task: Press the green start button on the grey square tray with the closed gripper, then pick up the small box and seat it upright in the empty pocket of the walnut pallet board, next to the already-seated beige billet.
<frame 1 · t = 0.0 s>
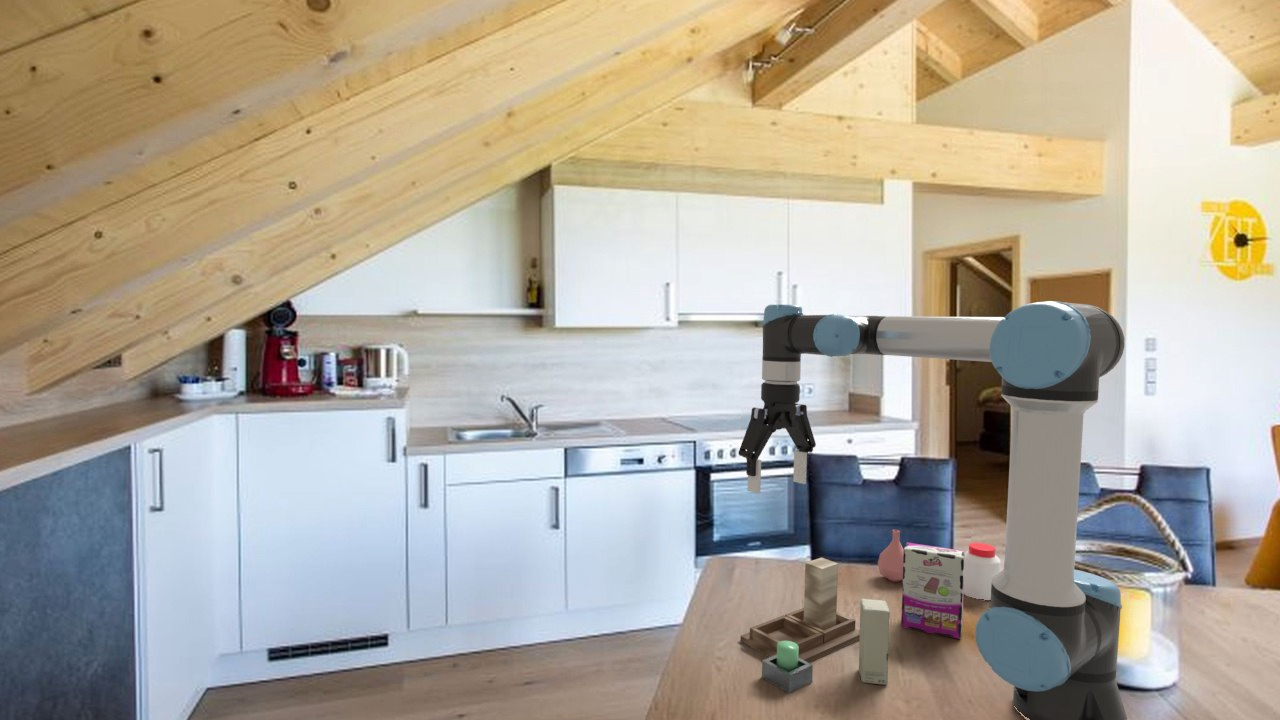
hand: (777, 487, 135), 28 cm above the table, fingers open, 13 cm apart
candy bar box: (931, 629, 136), on the table
box: (872, 677, 117), on the table
grey square tray: (786, 679, 115), on the table
pill bottle: (979, 594, 154), on the table
start button: (787, 657, 115), point 4 cm above the table, slide at 0.0 cm
pallet: (802, 639, 130), on the table
perfume bottle: (894, 580, 161), on the table
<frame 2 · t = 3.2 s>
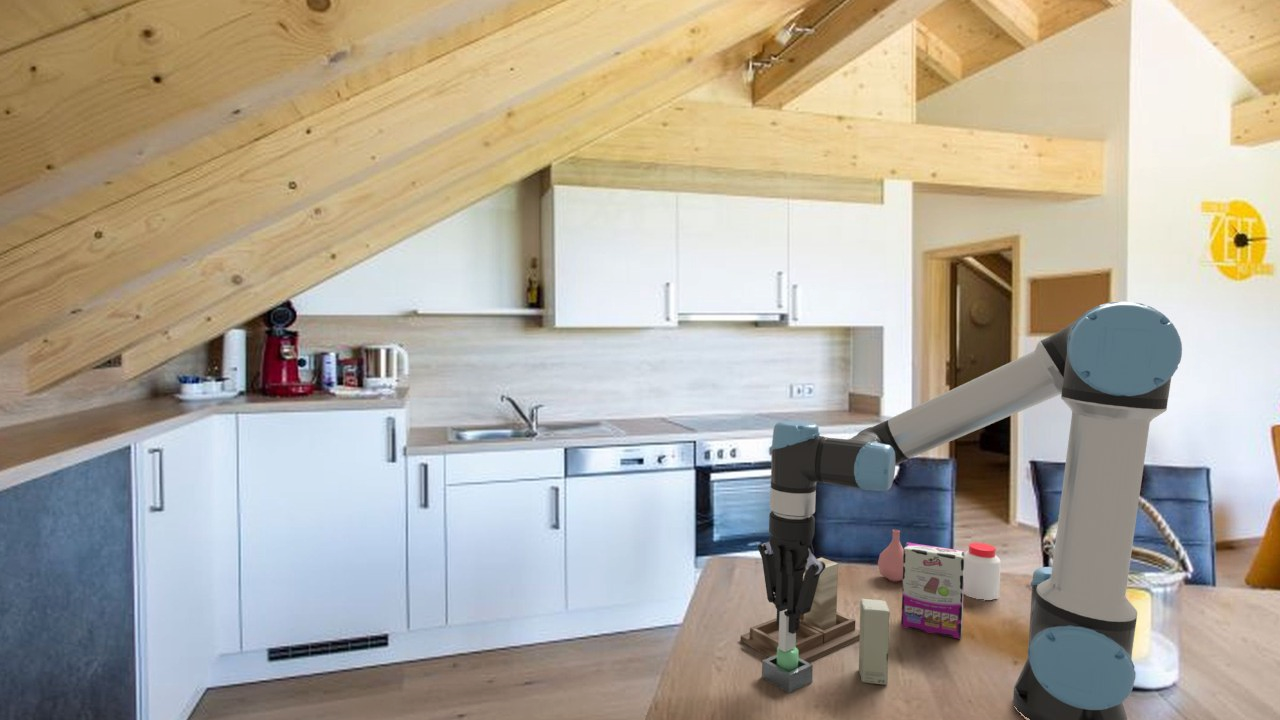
hand: (786, 647, 115), 6 cm above the table, fingers closed
start button: (787, 661, 115), point 3 cm above the table, slide at 0.7 cm, touching gripper
everything else where it was.
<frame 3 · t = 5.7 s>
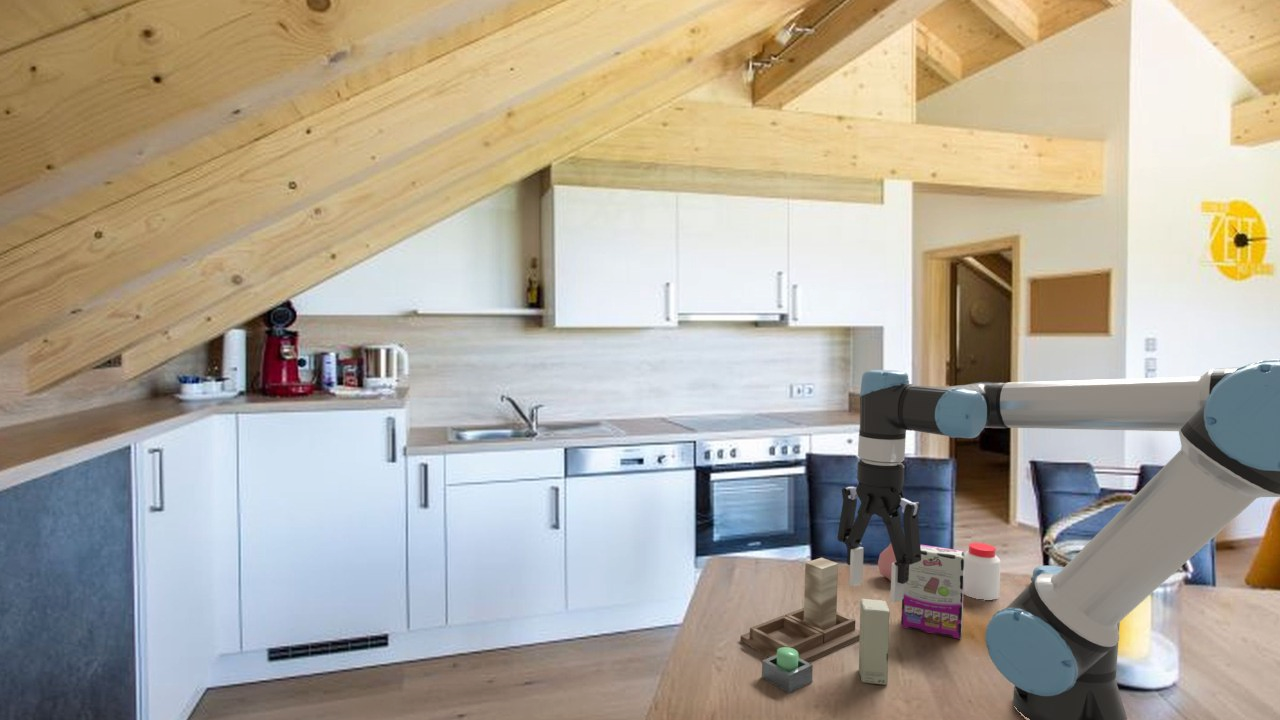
hand: (875, 591, 116), 15 cm above the table, fingers open, 7 cm apart
start button: (787, 663, 115), point 3 cm above the table, slide at 1.2 cm
everything else where it was.
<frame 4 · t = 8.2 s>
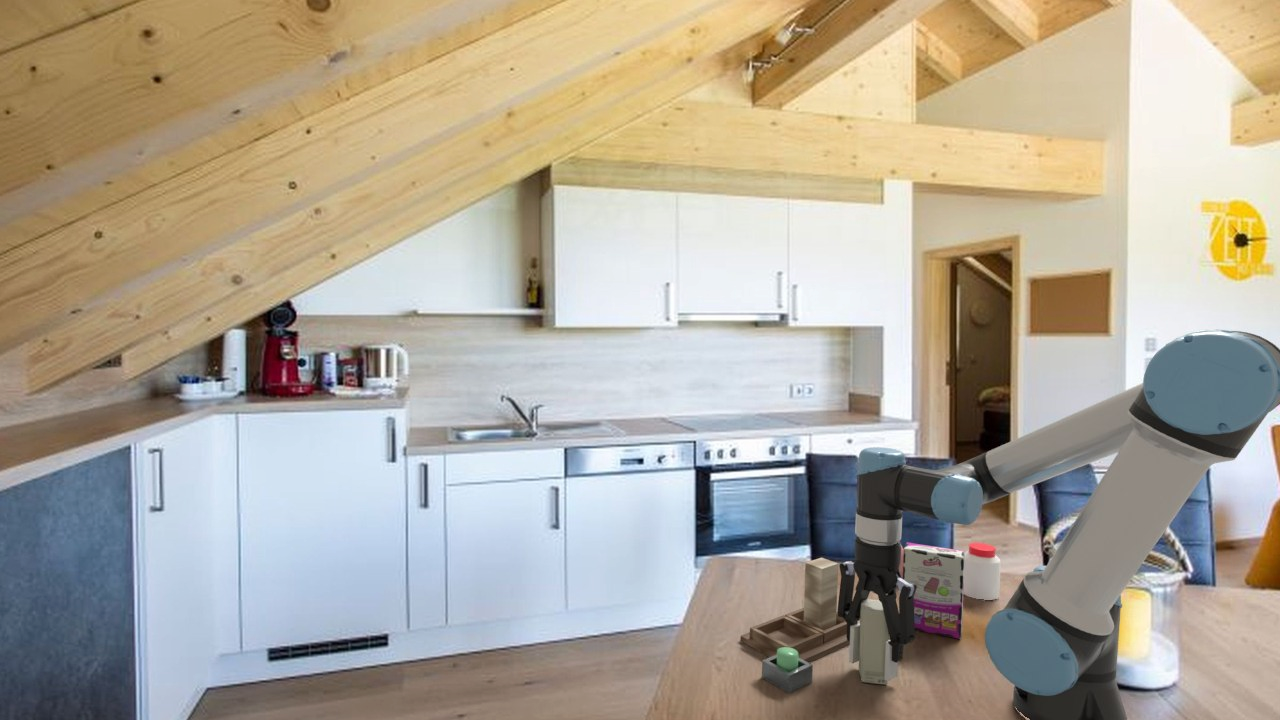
hand: (872, 668, 117), 1 cm above the table, fingers closed on box, 6 cm apart
box: (872, 677, 117), on the table, touching gripper
everything else where it was.
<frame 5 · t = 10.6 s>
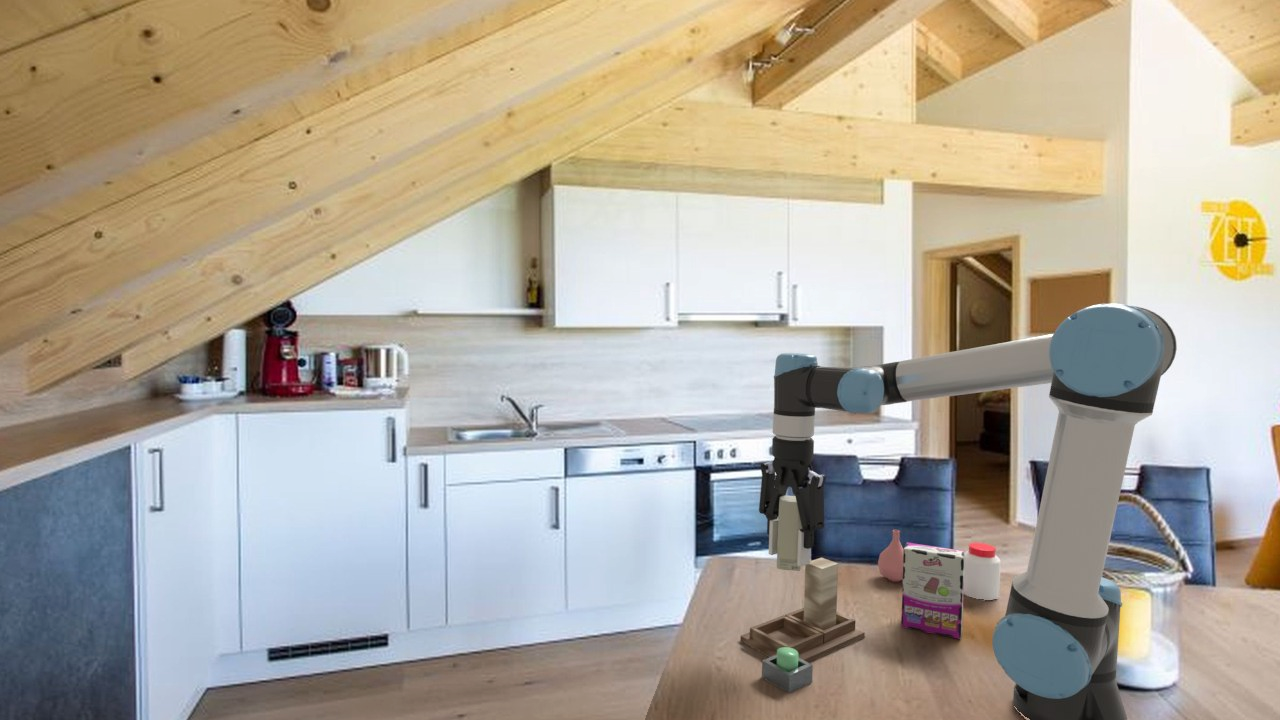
hand: (789, 558, 126), 17 cm above the table, fingers closed on box, 6 cm apart
box: (788, 566, 126), point 15 cm above the table, touching gripper
everything else where it was.
when the fingers open (3 cm above the table, at t = 13.4 s): box stays where it is, resting on pallet.
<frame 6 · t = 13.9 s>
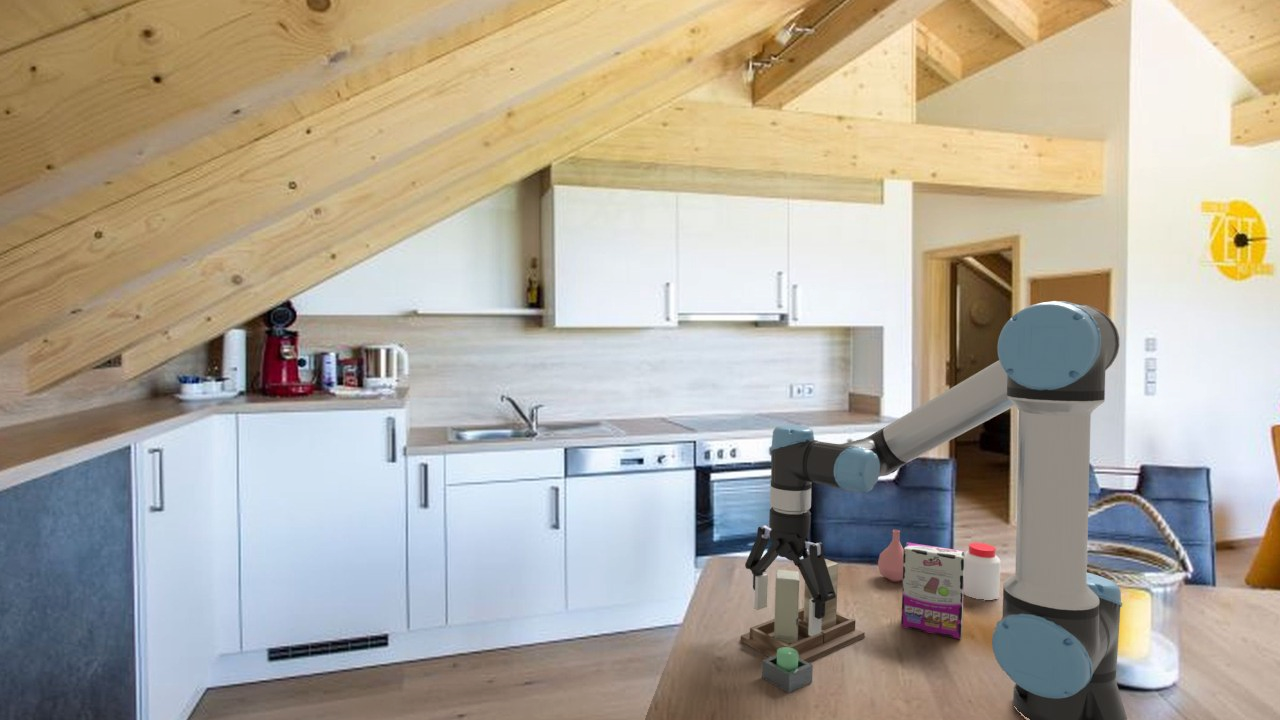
hand: (786, 620, 127), 5 cm above the table, fingers open, 12 cm apart
box: (785, 642, 127), point 1 cm above the table, touching pallet
everything else where it was.
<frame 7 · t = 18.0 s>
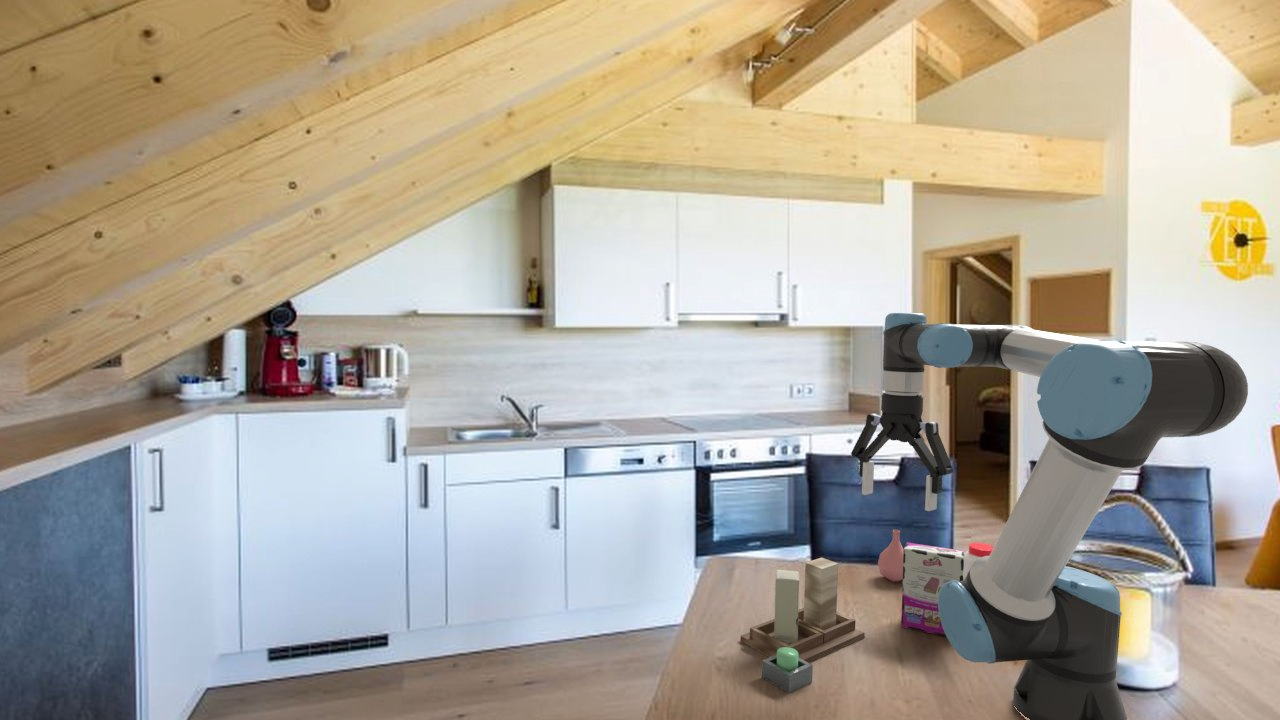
hand: (897, 501, 131), 27 cm above the table, fingers open, 13 cm apart
nothing on the table moved.
at the end: box inside the target area on the pallet (0.1 cm from its centre), point 0.8 cm above the pallet's base; box tilted 0°; start button slide at 1.2 cm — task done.
